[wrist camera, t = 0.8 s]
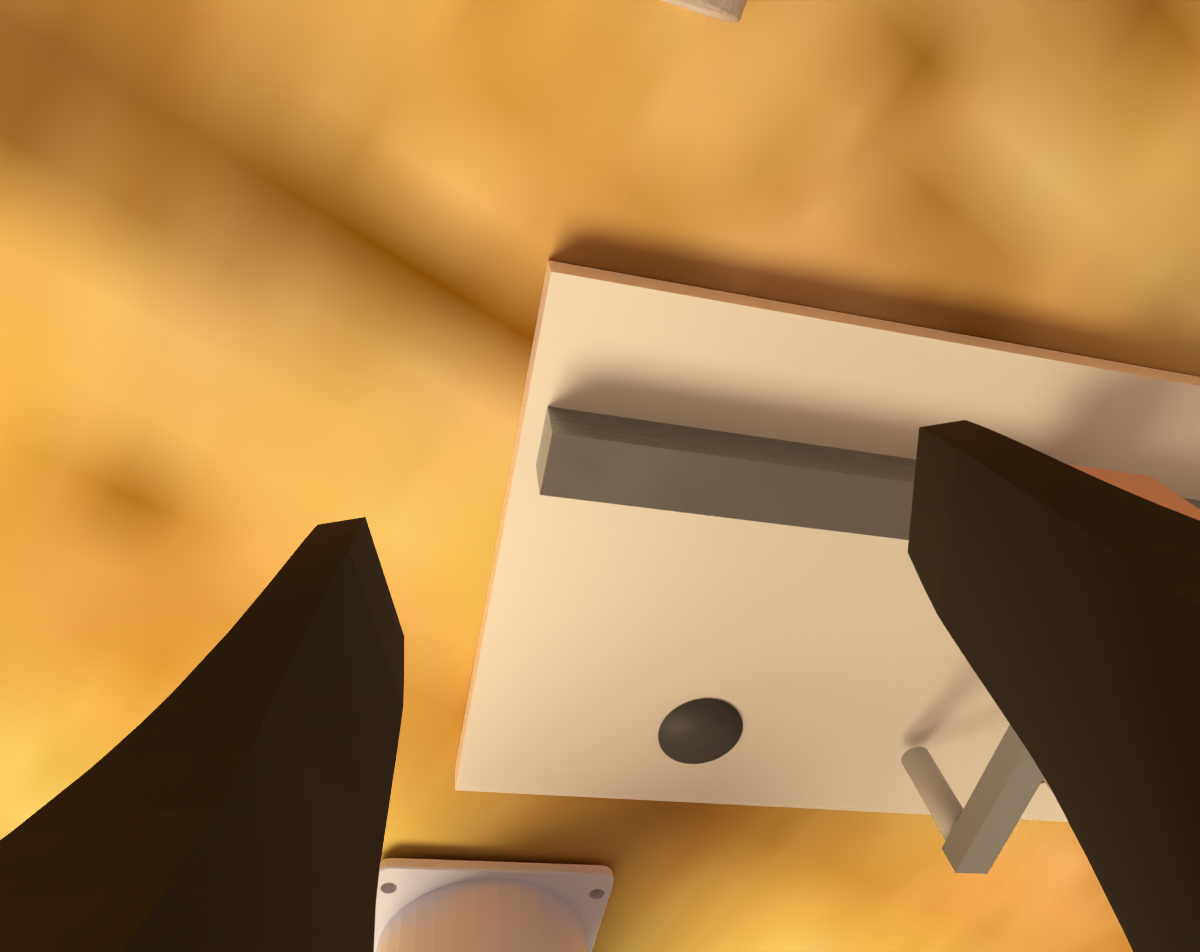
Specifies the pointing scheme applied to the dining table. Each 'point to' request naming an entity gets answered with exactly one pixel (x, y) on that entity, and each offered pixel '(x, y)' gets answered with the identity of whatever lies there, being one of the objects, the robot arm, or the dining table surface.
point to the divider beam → (724, 474)
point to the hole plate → (761, 556)
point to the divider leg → (1005, 750)
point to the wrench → (714, 8)
